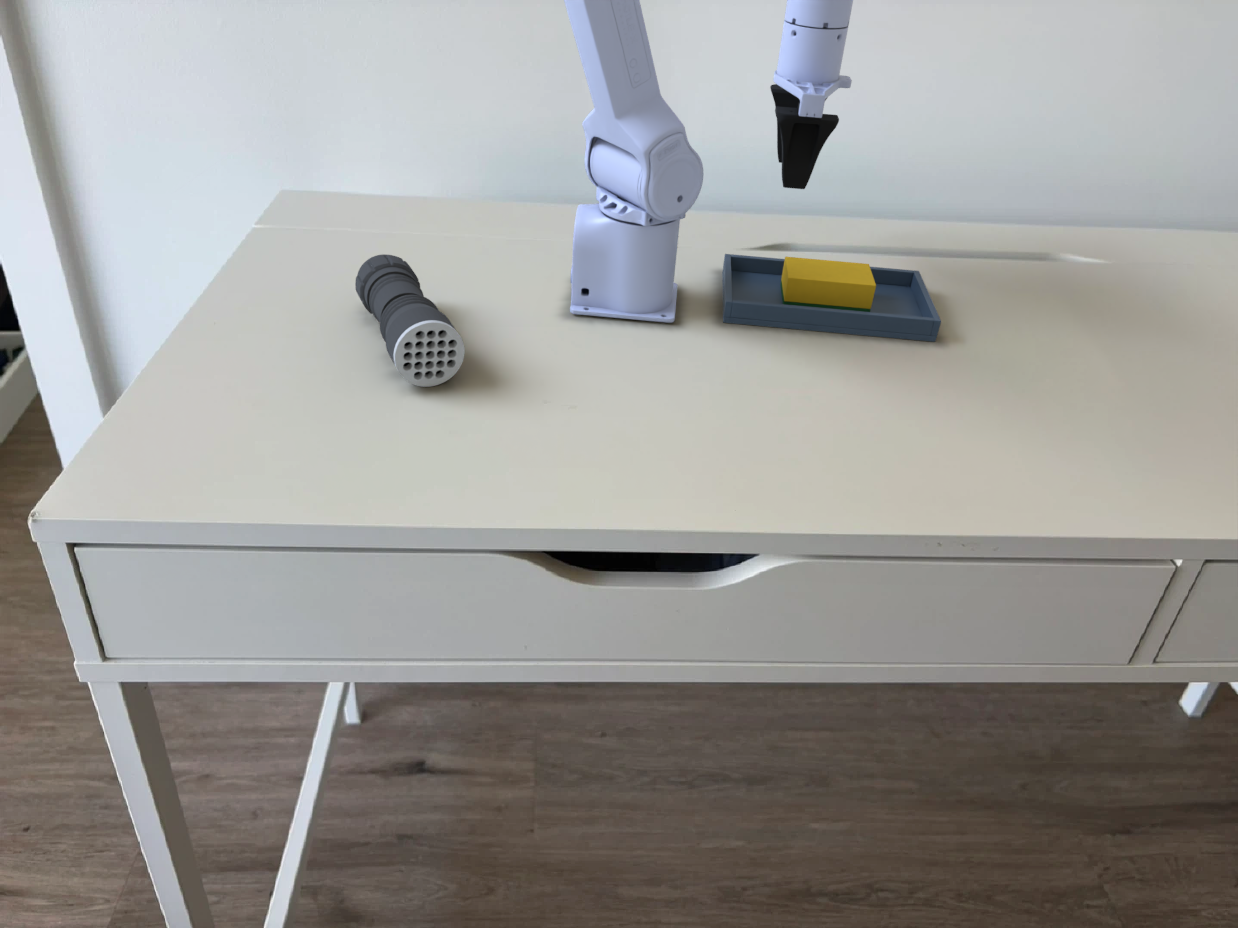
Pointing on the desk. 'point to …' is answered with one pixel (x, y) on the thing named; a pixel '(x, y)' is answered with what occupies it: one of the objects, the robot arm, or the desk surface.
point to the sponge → (827, 284)
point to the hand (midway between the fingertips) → (791, 174)
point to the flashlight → (409, 322)
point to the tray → (893, 312)
